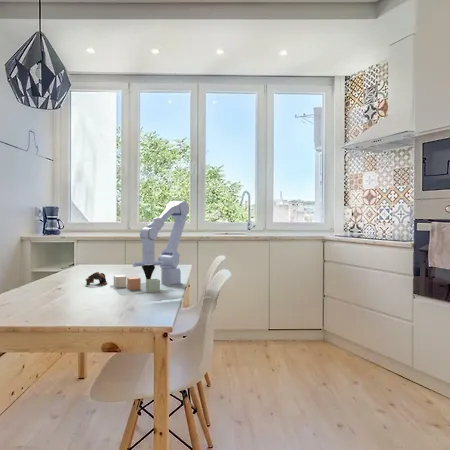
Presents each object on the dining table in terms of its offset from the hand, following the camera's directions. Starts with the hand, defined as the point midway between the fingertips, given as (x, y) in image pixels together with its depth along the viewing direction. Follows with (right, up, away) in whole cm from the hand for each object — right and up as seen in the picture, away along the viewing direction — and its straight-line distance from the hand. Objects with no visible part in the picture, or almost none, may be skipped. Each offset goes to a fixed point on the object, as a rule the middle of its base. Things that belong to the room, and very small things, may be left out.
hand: (148, 281), depth 180 cm
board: (-5, -4, -3) cm, 7 cm away
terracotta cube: (-6, -3, -3) cm, 8 cm away
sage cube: (+4, -3, -8) cm, 10 cm away
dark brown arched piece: (-27, -4, +9) cm, 29 cm away
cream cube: (-14, -3, +3) cm, 15 cm away
